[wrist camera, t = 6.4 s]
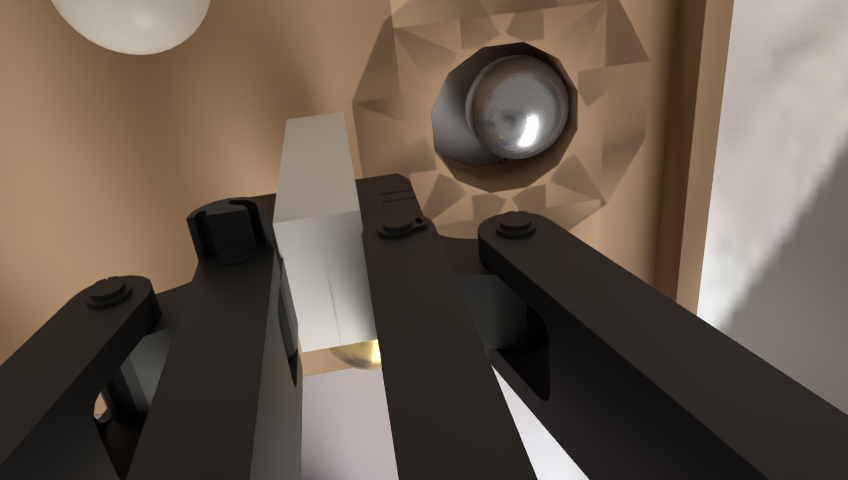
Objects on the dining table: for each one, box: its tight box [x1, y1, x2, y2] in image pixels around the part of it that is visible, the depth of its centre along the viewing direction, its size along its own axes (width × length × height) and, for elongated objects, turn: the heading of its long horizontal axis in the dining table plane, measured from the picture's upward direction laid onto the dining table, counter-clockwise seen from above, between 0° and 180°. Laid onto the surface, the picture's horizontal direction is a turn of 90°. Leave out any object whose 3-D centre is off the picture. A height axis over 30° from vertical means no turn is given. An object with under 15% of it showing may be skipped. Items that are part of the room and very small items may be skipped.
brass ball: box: [328, 340, 382, 370], centre depth 20 cm, size 3×3×3 cm
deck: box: [0, 0, 734, 415], centre depth 19 cm, size 24×16×4 cm, turn 96°
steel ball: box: [466, 55, 569, 159], centre depth 20 cm, size 3×3×3 cm
